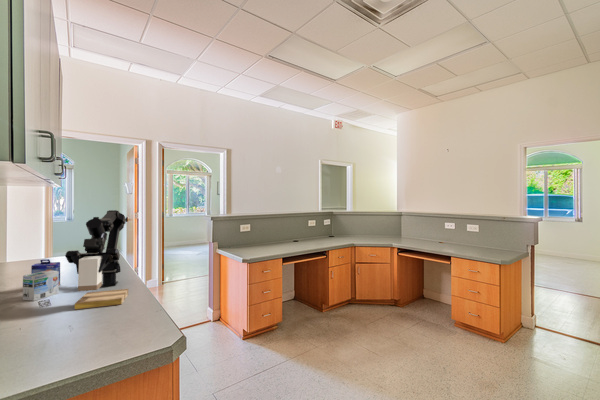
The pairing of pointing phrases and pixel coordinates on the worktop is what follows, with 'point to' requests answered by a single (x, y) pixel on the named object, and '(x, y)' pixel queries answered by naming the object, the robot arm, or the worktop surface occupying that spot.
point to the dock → (101, 299)
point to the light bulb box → (40, 285)
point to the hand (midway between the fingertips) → (88, 272)
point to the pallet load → (89, 273)
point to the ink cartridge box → (46, 267)
